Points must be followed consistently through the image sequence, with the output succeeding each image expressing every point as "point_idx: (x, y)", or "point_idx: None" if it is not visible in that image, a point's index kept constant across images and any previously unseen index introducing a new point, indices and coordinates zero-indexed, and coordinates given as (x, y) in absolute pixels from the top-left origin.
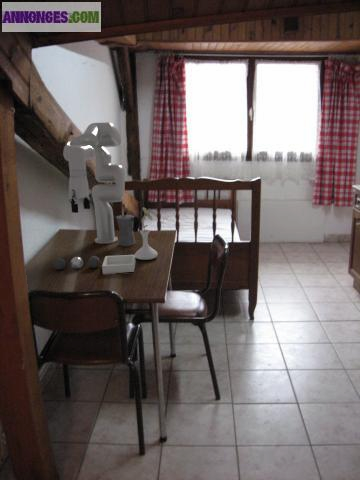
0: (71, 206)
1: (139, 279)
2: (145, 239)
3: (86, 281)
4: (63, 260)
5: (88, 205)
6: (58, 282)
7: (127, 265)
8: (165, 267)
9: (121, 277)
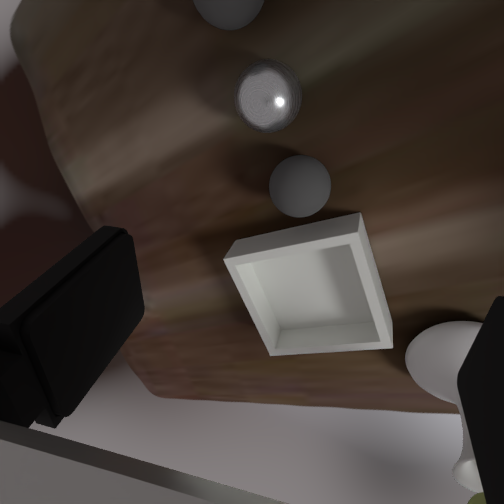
0: (35, 282)
1: (232, 351)
2: (463, 433)
3: (158, 206)
4: (224, 21)
5: (473, 428)
6: (104, 99)
7: (262, 337)
8: (349, 406)
9: (230, 304)
